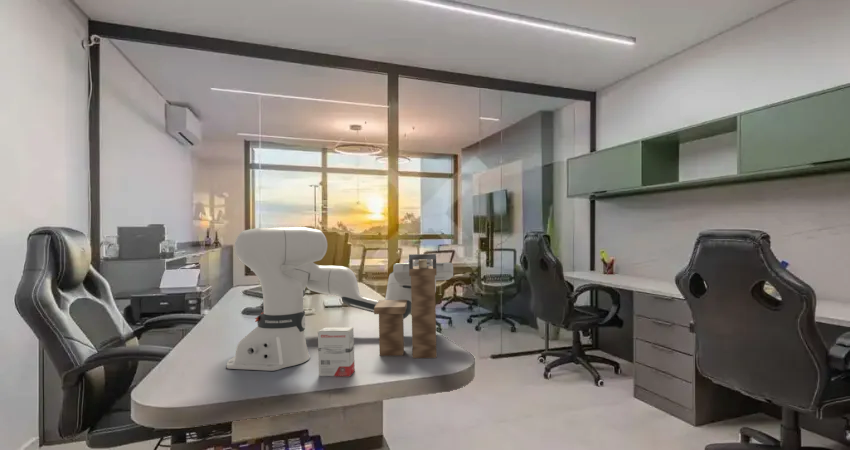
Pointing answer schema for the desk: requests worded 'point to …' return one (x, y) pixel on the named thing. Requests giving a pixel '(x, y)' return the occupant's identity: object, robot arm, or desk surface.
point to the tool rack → (421, 314)
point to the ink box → (336, 351)
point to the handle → (422, 263)
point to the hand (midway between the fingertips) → (422, 261)
